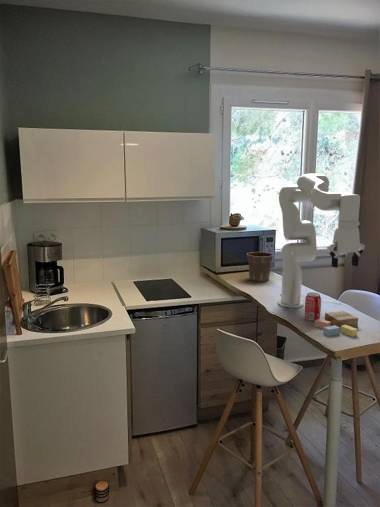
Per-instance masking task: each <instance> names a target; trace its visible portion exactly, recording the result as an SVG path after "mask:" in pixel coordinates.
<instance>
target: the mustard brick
mask: <svg viewBox="0 0 380 507" xmlns="http://www.w3.org/2000/svg"><path fill="white" fill-rule="evenodd" d="M341 333H342V334H345V335H346V336H350V337H357V335H358V328H357V327H351V326H348V325H343V326H341V329H340V334H341Z"/></svg>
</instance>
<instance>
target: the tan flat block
mask: <svg viewBox="0 0 380 507" xmlns="http://www.w3.org/2000/svg"><path fill="white" fill-rule="evenodd" d="M324 320H326V321H330V322H331V326H334V325H336V326H338V327H340V330H341V326H343V325H348V326H351V327H353V328H358V324H359V317H356V316H355V315H353V314H351V313H349V312H347V311H345V310H340V311H332V312H325V313H324Z"/></svg>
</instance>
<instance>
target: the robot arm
mask: <svg viewBox="0 0 380 507" xmlns="http://www.w3.org/2000/svg"><path fill="white" fill-rule="evenodd" d="M329 187H330V180H329V177H328V176H326V175H325V174H322V173H306V174H303V175H301V176H299V177H298V178H297V181H296V184H288V185H285V186H283V187H281V188H280V190H279V194H278V204H279V206H280V209H281V215H282V216H281V217H282V229H283V236H284V239H285V240H287V241H302V242H289V243H285V244H284V245H283V246H282V247H281V260H282V276H281V280H282V281H281V293H280V294H279V296H280V299H278V301H277V304H278V305H279V306H280V307H283V308H291V309H295V308H296V309H297V308H298V309H299V308H301V307H304V302H303V301H302V300H301V297H302V295H301V294H302V280H303V279H302V278H303V269H302V267H301V266H300V264H299V263H301V262H312V261H314V260H315V259H316V257H317V254H318V250H317V249H318V247H317V233H316V227H315V224H314V223H313V222H312V221H310V220H301V214H300V210H299V208H298V207H297V205H296V204H295V203H311V204H312V205H313V206H314V207H315V208H317V209H318V210H321V211H326V212H327V211H328V212H329V211H330V212H332V211H333V212H334V211H336V212H337V211H338V222H337V227H336V228H335V230H334V234H333V239H332V244H330V245H328V246H327V247H326V249H327V251H328V252H327V253H328V254H329V255H330V257H331V267H333V268H335V269H337V268H338V266H339V258H338V256H340V255H341V254H353V255H352V258H351V265H352V266H354V267H358V266H359V259H360V258H359V257H361V255H362V254H363V252H364V250H365V247H366V245H365V244H363V243H361V242H360V230H359V228H358V227H359V226H360V224H361V222H360V221H359V218H360V217H359V216H360V203H361V196H360V194H356V193H349V192H346V191H343V192H341V191H339V192H338V191H336V192H335V191H331V192H330V191H329V190H330V189H329Z"/></svg>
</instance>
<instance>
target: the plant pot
mask: <svg viewBox="0 0 380 507" xmlns="http://www.w3.org/2000/svg"><path fill="white" fill-rule="evenodd" d="M246 255H247V256H246V257H247V261H248V276H249V277H248V278H249V280H250V281H255V282H260V283H261V282H267V281H269V280H270V274H271V266H272V261H273V257H274V253H271V252H267V251H250V252H247V253H246Z"/></svg>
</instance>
